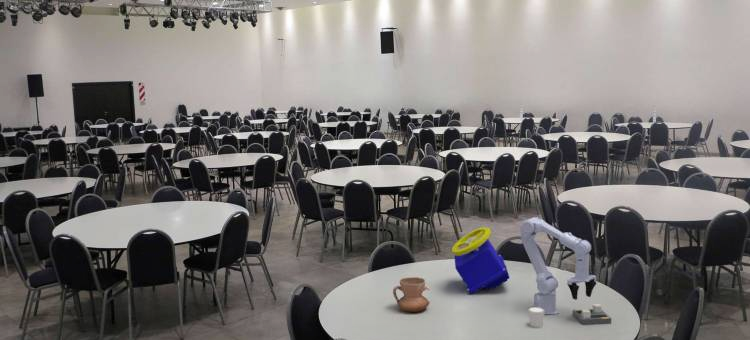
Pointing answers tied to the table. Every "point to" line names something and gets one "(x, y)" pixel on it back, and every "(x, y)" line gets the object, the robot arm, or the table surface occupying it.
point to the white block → (596, 308)
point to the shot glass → (536, 316)
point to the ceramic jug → (412, 294)
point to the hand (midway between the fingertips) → (581, 297)
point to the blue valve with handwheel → (479, 261)
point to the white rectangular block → (586, 314)
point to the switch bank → (592, 317)
